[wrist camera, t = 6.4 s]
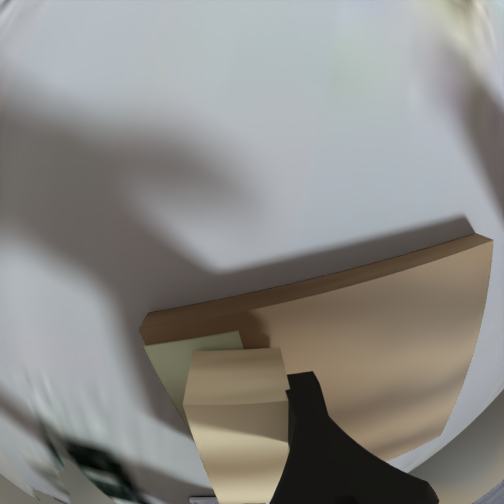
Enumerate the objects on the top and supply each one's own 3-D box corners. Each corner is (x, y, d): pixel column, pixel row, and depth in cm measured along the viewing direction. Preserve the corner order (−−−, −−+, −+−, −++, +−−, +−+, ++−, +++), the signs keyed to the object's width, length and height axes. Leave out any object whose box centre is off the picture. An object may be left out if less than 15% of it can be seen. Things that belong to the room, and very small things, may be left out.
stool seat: (433, 424, 17) (441, 435, 16) (238, 482, 17) (239, 497, 16) (476, 233, 12) (494, 240, 10) (146, 313, 12) (136, 331, 11)
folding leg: (275, 473, 14) (279, 508, 11) (223, 476, 14) (223, 511, 11) (279, 347, 11) (292, 400, 8) (193, 351, 11) (182, 404, 8)
